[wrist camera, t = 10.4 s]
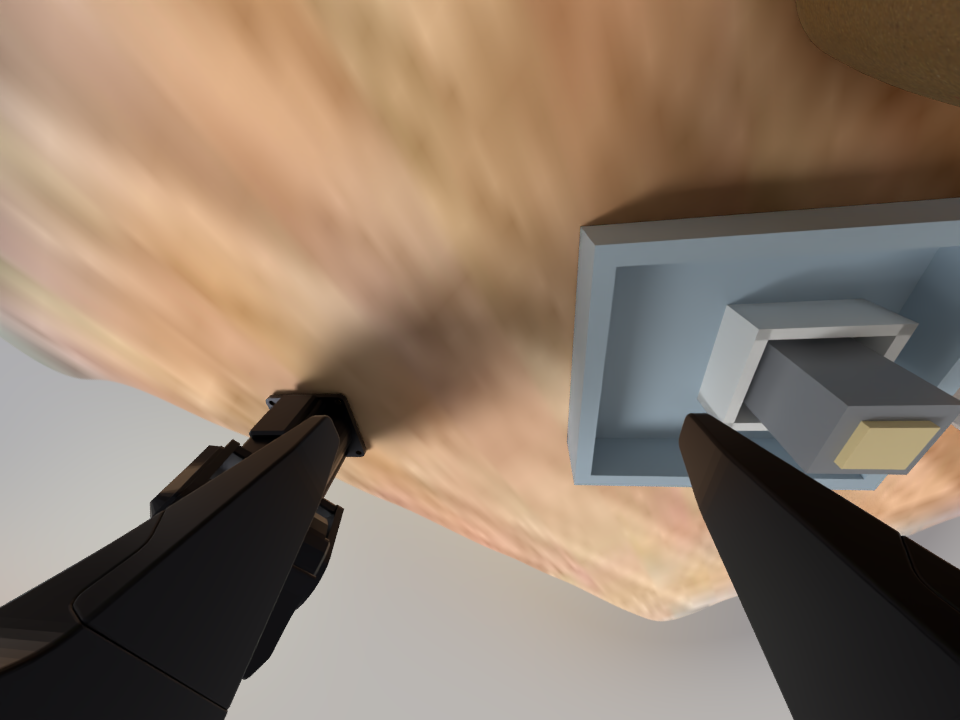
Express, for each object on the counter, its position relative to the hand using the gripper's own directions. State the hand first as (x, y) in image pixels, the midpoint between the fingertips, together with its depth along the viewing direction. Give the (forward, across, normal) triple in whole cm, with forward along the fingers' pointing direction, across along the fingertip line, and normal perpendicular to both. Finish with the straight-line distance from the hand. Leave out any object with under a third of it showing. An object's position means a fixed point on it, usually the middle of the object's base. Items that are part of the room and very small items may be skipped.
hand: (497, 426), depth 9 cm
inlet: (+13, -16, +6) cm, 21 cm away
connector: (+12, -15, +6) cm, 20 cm away
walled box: (+13, -13, +6) cm, 19 cm away
